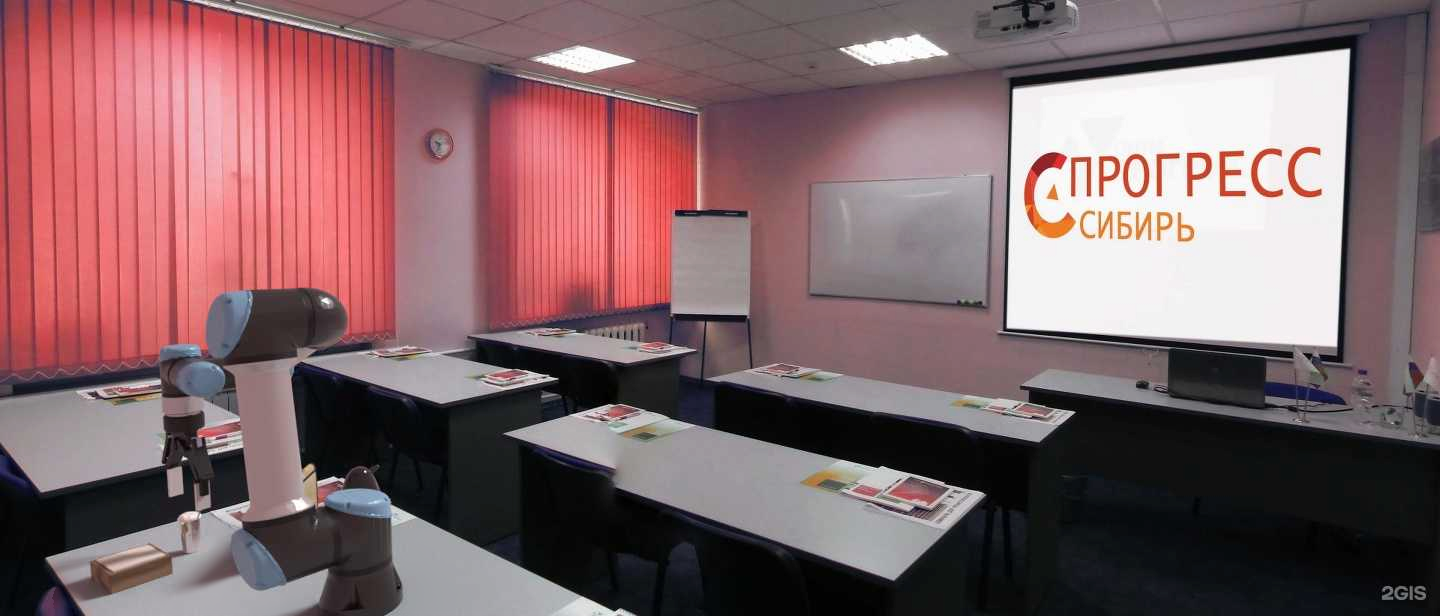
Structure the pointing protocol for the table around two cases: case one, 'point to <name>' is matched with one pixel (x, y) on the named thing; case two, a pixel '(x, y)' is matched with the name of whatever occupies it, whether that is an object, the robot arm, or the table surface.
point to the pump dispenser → (361, 479)
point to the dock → (131, 568)
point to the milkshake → (190, 531)
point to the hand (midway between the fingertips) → (189, 501)
